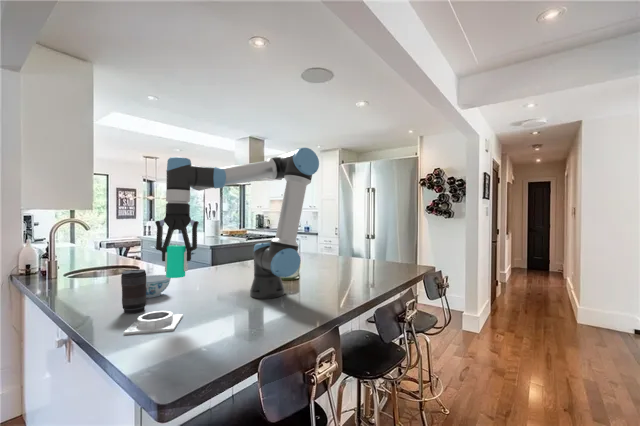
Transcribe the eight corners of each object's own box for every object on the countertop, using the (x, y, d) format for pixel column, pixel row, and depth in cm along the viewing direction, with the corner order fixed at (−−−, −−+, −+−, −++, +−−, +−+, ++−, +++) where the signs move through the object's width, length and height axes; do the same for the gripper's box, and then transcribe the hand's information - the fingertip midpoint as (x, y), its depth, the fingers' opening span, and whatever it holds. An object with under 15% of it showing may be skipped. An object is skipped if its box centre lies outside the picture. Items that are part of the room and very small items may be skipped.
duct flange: (182, 316, 112) (182, 307, 112) (173, 330, 98) (173, 321, 98) (139, 319, 108) (139, 310, 108) (123, 334, 95) (123, 324, 95)
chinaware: (148, 290, 149) (148, 274, 149) (177, 291, 147) (177, 275, 147) (124, 299, 134) (124, 281, 134) (156, 300, 132) (156, 282, 132)
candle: (180, 278, 105) (181, 242, 105) (162, 277, 105) (163, 241, 105) (188, 275, 111) (189, 240, 111) (171, 274, 111) (172, 240, 111)
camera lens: (123, 309, 120) (123, 270, 120) (147, 306, 123) (147, 268, 123) (119, 315, 113) (119, 273, 113) (145, 312, 116) (145, 272, 116)
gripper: (207, 204, 114) (206, 268, 114) (152, 202, 110) (150, 269, 110) (204, 203, 107) (203, 272, 106) (145, 201, 103) (143, 273, 102)
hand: (176, 270), depth 108 cm, fingers closed on candle, 5 cm apart
